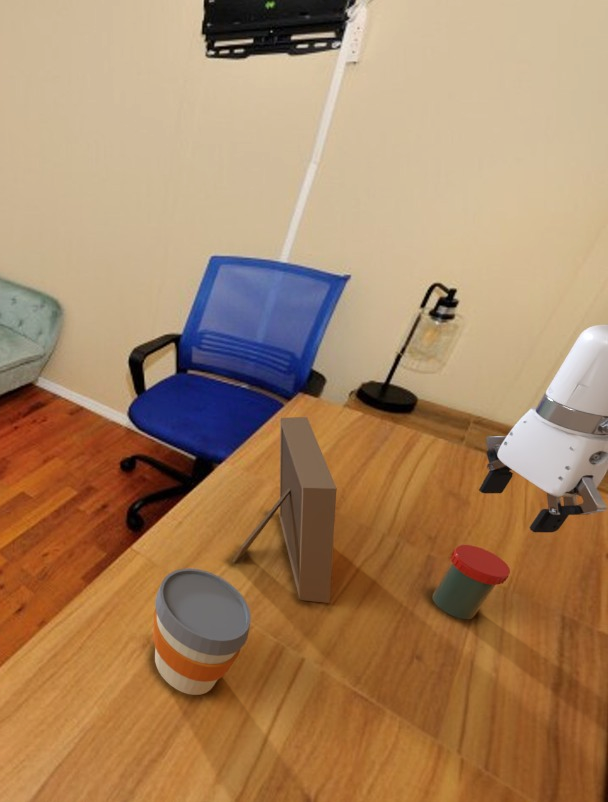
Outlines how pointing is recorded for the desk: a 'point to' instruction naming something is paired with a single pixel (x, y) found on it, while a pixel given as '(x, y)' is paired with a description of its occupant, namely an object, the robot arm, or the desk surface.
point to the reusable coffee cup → (198, 629)
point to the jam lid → (480, 564)
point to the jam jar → (460, 594)
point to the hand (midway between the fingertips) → (514, 510)
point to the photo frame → (304, 510)
